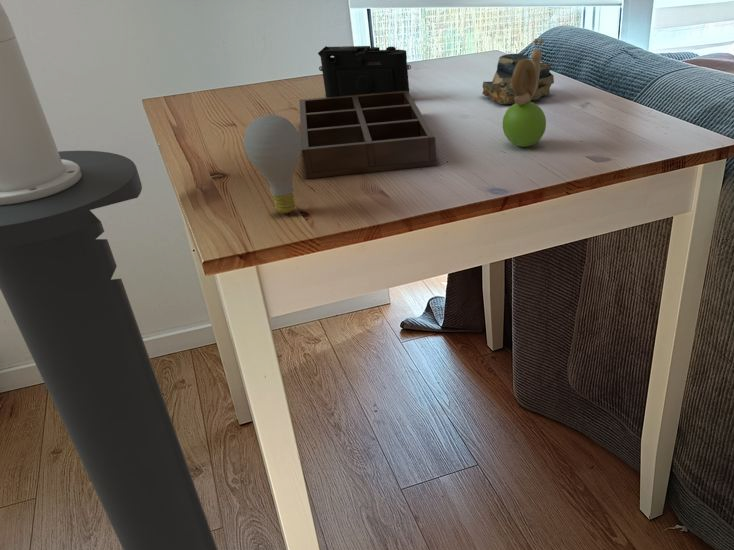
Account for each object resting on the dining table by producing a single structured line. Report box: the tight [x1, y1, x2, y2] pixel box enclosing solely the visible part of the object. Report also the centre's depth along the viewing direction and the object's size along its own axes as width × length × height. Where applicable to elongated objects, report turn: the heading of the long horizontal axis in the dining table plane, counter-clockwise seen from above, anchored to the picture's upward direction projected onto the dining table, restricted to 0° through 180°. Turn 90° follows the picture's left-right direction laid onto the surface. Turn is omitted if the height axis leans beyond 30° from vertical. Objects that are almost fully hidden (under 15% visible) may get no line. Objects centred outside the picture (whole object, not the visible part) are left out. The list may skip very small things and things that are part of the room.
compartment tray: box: [298, 91, 438, 179], centre depth 89 cm, size 15×23×3 cm
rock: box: [481, 53, 555, 105], centre depth 105 cm, size 9×9×6 cm
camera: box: [317, 45, 412, 98], centre depth 107 cm, size 14×7×8 cm, turn 86°
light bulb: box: [243, 114, 302, 215], centre depth 69 cm, size 6×5×10 cm
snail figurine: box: [502, 38, 547, 148], centre depth 85 cm, size 5×6×12 cm
